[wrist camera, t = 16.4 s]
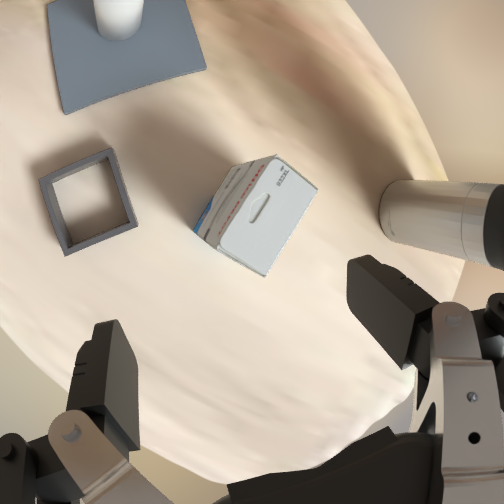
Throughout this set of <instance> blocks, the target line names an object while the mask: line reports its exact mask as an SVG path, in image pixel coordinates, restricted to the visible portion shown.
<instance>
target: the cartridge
mask: <svg viewBox="0 0 504 504" xmlns="http://www.w3.org/2000/svg"><path fill="white" fill-rule="evenodd" d="M93 2H94V9H95V15H96V21H97V27H98V31H99V33H100V35H101V36H102V37H103V38H105V39H107V40H110V41H121V40H125V39H128V38H129V37H131V36H133V35H134V34H135V33H136V32H137V31H138V30H139V28H140V26H141V21H142V12H143V4H144V0H93Z"/></svg>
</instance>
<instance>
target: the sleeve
mask: <svg viewBox="0 0 504 504" xmlns="http://www.w3.org/2000/svg"><path fill="white" fill-rule="evenodd" d="M107 159H109V161H110V164H111V167H112V171H113V174H114V177H115V180H116V183H117V186H118V189H119V192H120V195H121V198H122V201H123V204H124V207H125V210H126V213H127V216H128V218H129V221H130V222H127V223H124V224H122V225H119V226H117V227H115V228H112V229H110V230H107V231H105V232H102V233H100V234H97V235H95V236H93V237H90V238H88V239H86V240H83V241H81V242H79V243H76V244H74V245H73V244H72V241H71V238H70V236H69V233H68V230H67V227H66V225H65V222H64V219H63V216H62V213H61V210H60V207H59V204H58V201H57V198H56V195H55V191H54V188H53V185H52V183H54V182H56V181H58V180H60V179H62V178H65V177H67V176H69V175H71V174H74V173H76V172H78V171H81V170H83V169H85V168H88V167H90V166H92V165H95V164H97V163H100V162H102V161H105V160H107ZM39 183H40V186H41V190H42V193H43V196H44V199H45V203H46V206H47V209H48V212H49V215H50V218H51V221H52V224H53V226H54V229H55V232H56V235H57V238H58V240H59V243H60V246H61V248H62V251H63V253H64V256H68V255H70V254H72V253H75V252H77V251H79V250H82V249H84V248H86V247H89V246H91V245H93V244H96V243H98V242H101V241H103V240H105V239H108V238H110V237H113V236H115V235H118V234H120V233H123V232H125V231H128V230H130V229H133V228H135V227H138V221H137V218H136V216H135V213H134V210H133V207H132V204H131V201H130V198H129V195H128V192H127V189H126V186H125V183H124V180H123V177H122V174H121V171H120V167H119V164H118V161H117V158H116V154H115V151H114V150H113V148H109V149H107V150H104V151H102V152H99V153H97V154H94V155H92V156H89V157H87V158H85V159H82V160H80V161H78V162H75V163H73V164H71V165H68V166H66V167H64V168H62V169H60V170H57V171H55V172H53V173H51V174H49V175H47V176H45V177H43V178H41V179H39Z"/></svg>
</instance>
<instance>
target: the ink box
mask: <svg viewBox="0 0 504 504" xmlns="http://www.w3.org/2000/svg"><path fill="white" fill-rule="evenodd" d="M317 192H318V189H317V188H316V187H315V186H314V185H313V184H312V183H311V182H310V181H308V180H307V179H306V178H305V177H304V176H302V175H301V174H300V173H299V172H298V171H296V170H295V169H294V168H293V167H292V166H290V165H289V164H288V163H287V162H285V161H284V160H283V159H281V158H280V157H279V156H278V155H277V154H276V155H273V156H269V157H266V158H262V159H258V160H254V161H251V162H247V163H243V164H239V165H236V166H233V167H232V168H231V170H230V171H229V173H228V174H227V176H226V177H225V179H224V181H223V182H222V184H221V185H220V187H219V189H218V190H217V192H216V194H215V195H214V197H213V198H212V200H211V201H210V203H209V205H208V206H207V208H206V210H205V211H204V213H203V215H202V216H201V218H200V219H199V221H198V223H197V225H196V226H195V228H194V233H195V234H197V235H198V236H199V237H200V238H201V239H203V240H204V241H205V242H206V243H208V244H209V245H210V246H211V247H213V248H214V249H216V250H217V251H218V252H220V253H222V254H224V255H225V256H227V257H229V258H230V259H232V260H234V261H235V262H237V263H239V264H240V265H242V266H244V267H246V268H248V269H249V270H251V271H253V272H255V273H257V274H259V275H260V276H262V277H266V275H267V274H268V272H269V270H270V269H271V267H272V266H273V264H274V262H275V261H276V259H277V258H278V256H279V254H280V253H281V251H282V250H283V248H284V246H285V245H286V243H287V241H288V240H289V238H290V237H291V235H292V233H293V232H294V230H295V228H296V227H297V225H298V223H299V222H300V220H301V219H302V217H303V215H304V214H305V212H306V210H307V209H308V207H309V205H310V204H311V202H312V200H313V198H314V197H315V195H316V193H317Z"/></svg>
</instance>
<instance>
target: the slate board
mask: <svg viewBox="0 0 504 504" xmlns="http://www.w3.org/2000/svg"><path fill="white" fill-rule="evenodd" d="M47 9H48V20H49V29H50V37H51V45H52V52H53V58H54V65H55V70H56V76H57V82H58V87H59V92H60V97H61V101H62V106H63V111H64V114H65V115H68V114H70V113H72V112H75V111H77V110H80V109H82V108H84V107H87V106H89V105H92V104H95V103H97V102H100V101H102V100H105V99H108V98H111V97H113V96H116V95H119V94H122V93H125V92H128V91H131V90H134V89H137V88H140V87H143V86H146V85H150V84H153V83H156V82H160V81H163V80H167V79H171V78H174V77H178V76H182V75H186V74H190V73H194V72H199V71H203V70H206V68H207V66H206V63H205V60H204V57H203V54H202V51H201V48H200V44H199V41H198V38H197V35H196V32H195V29H194V26H193V23H192V20H191V17H190V14H189V11H188V8H187V5H186V2H185V0H144V4H143V12H142V21H141V26H140V28H139V30H138V31H137V32H136V33H135V34H134V35H133V36H131V37H129V38H128V39H125V40H121V41H110V40H107V39H105V38H103V37H102V36H101V35H100V33H99V31H98V27H97V21H96V15H95V9H94V2H93V0H57V1H55V2H52V3H50V4H47Z"/></svg>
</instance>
